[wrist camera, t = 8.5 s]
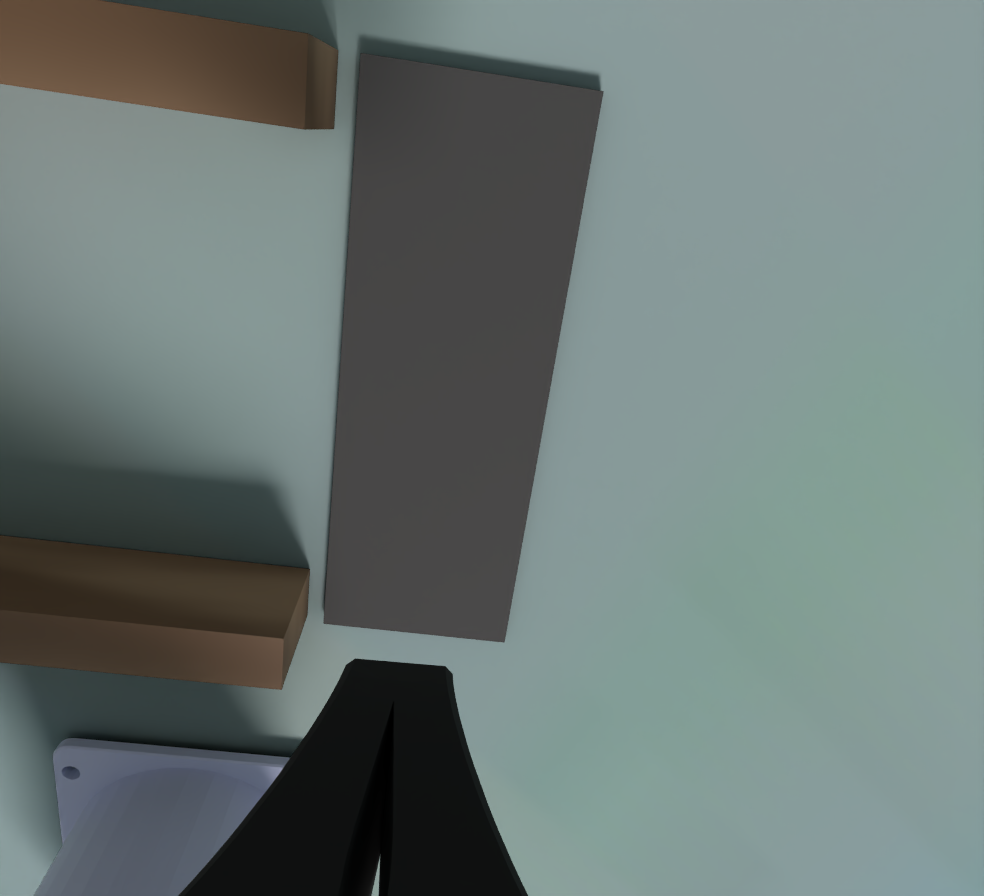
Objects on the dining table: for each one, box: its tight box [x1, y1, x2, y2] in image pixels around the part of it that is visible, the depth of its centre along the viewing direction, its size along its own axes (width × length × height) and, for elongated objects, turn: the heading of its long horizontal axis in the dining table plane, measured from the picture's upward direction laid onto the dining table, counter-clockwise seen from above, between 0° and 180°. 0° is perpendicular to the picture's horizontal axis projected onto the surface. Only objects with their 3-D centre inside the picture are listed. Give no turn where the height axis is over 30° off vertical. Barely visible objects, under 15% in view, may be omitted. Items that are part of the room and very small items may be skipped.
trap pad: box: [324, 53, 603, 642], centre depth 18 cm, size 14×5×1 cm, turn 172°
